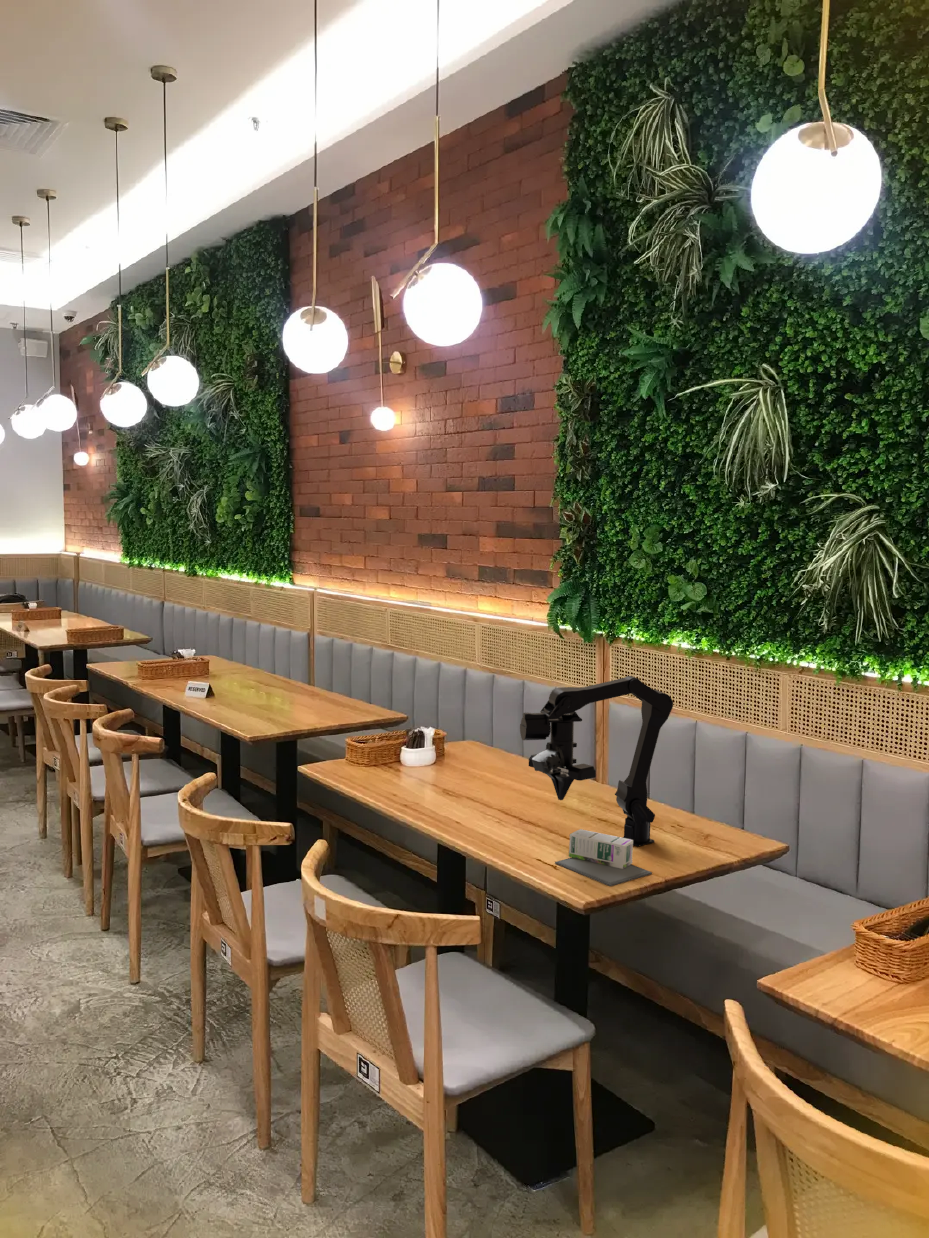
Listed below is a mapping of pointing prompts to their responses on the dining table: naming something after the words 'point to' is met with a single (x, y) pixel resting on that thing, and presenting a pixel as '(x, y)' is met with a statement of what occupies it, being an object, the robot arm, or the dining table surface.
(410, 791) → the dining table surface
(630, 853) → the syrup box
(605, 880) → the mat
